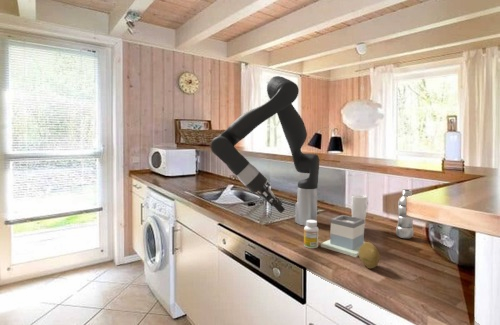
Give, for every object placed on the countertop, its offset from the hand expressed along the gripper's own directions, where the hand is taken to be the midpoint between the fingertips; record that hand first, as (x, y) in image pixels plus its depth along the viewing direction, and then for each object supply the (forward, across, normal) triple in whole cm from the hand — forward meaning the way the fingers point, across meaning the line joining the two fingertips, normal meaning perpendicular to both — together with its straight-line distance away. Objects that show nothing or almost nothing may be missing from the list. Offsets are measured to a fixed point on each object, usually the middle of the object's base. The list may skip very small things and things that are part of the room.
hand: (281, 208), depth 115 cm
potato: (+29, -18, -8) cm, 35 cm away
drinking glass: (+37, +22, -16) cm, 46 cm away
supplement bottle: (+18, 0, +2) cm, 19 cm away
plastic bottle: (+48, +10, -27) cm, 55 cm away
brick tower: (+28, -1, -7) cm, 29 cm away
